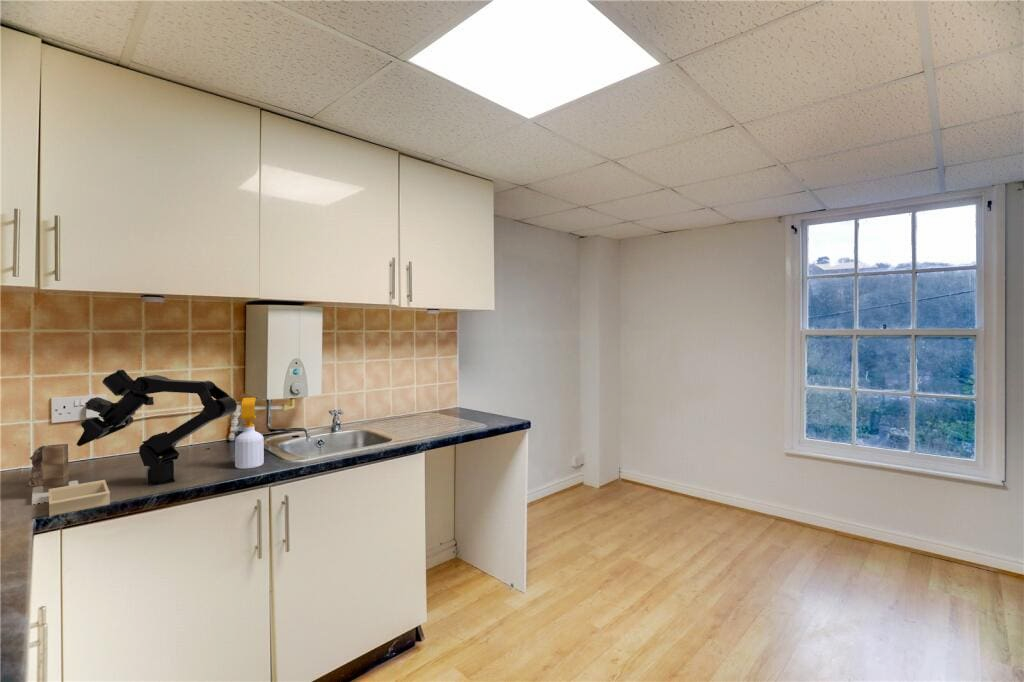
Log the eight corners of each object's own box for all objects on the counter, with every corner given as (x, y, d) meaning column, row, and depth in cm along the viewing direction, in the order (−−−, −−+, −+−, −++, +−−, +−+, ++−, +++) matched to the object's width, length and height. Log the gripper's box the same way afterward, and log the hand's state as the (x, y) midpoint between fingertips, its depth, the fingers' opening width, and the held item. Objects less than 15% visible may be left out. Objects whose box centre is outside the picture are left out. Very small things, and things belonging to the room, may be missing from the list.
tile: (77, 484, 149) (77, 480, 149) (80, 496, 140) (80, 491, 140) (32, 492, 142) (32, 487, 142) (32, 505, 133) (31, 499, 132)
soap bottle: (264, 461, 177) (264, 395, 177) (262, 467, 169) (261, 399, 168) (237, 463, 174) (236, 397, 173) (233, 470, 166) (232, 400, 165)
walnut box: (68, 485, 144) (67, 443, 144) (63, 490, 140) (62, 446, 140) (48, 488, 142) (47, 445, 141) (43, 492, 138) (42, 448, 138)
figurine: (33, 481, 153) (32, 444, 152) (62, 478, 156) (62, 442, 156) (25, 487, 146) (24, 449, 146) (55, 484, 150) (55, 446, 150)
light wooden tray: (105, 492, 143) (105, 479, 143) (110, 505, 132) (110, 492, 132) (49, 502, 135) (48, 489, 135) (49, 517, 124) (49, 503, 124)
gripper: (122, 385, 160) (83, 419, 157) (88, 392, 142) (44, 431, 139) (149, 407, 162) (111, 441, 159) (119, 417, 144) (76, 456, 141)
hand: (87, 441), depth 150 cm, fingers open, 9 cm apart
